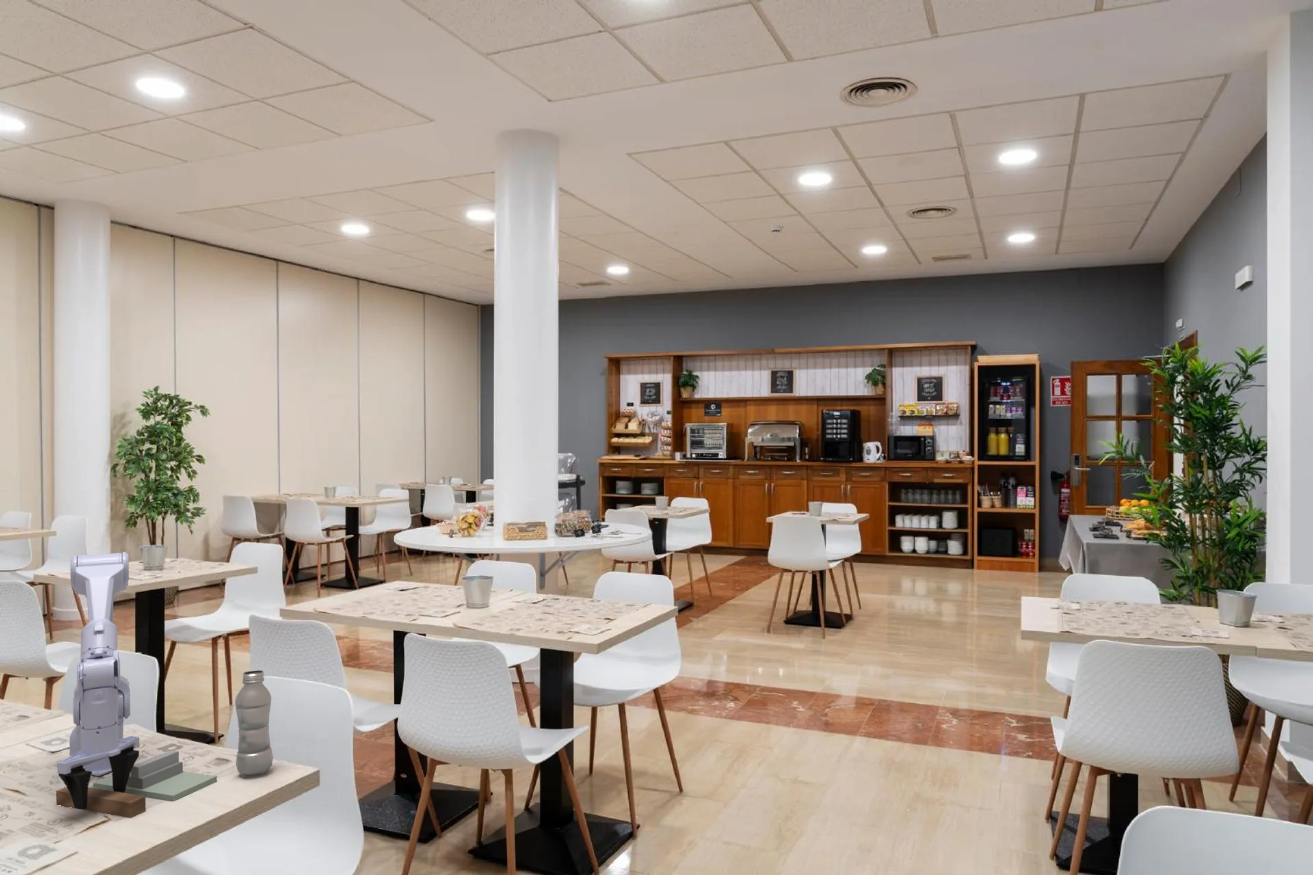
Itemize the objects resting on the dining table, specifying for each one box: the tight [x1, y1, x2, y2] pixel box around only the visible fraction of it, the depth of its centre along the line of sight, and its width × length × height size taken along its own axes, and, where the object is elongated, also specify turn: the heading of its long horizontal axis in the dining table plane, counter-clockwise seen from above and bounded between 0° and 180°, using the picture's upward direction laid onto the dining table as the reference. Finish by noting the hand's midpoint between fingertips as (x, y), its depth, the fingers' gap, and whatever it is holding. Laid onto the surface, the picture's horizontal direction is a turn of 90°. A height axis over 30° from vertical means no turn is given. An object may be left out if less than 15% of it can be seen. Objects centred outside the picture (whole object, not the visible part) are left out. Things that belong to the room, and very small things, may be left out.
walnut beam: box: [55, 786, 147, 819], centre depth 162 cm, size 18×3×3 cm, turn 71°
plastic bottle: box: [234, 669, 274, 777], centre depth 178 cm, size 6×7×20 cm
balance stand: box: [92, 750, 218, 802], centre depth 173 cm, size 20×10×5 cm, turn 70°
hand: (100, 799), depth 162 cm, fingers open, 7 cm apart
